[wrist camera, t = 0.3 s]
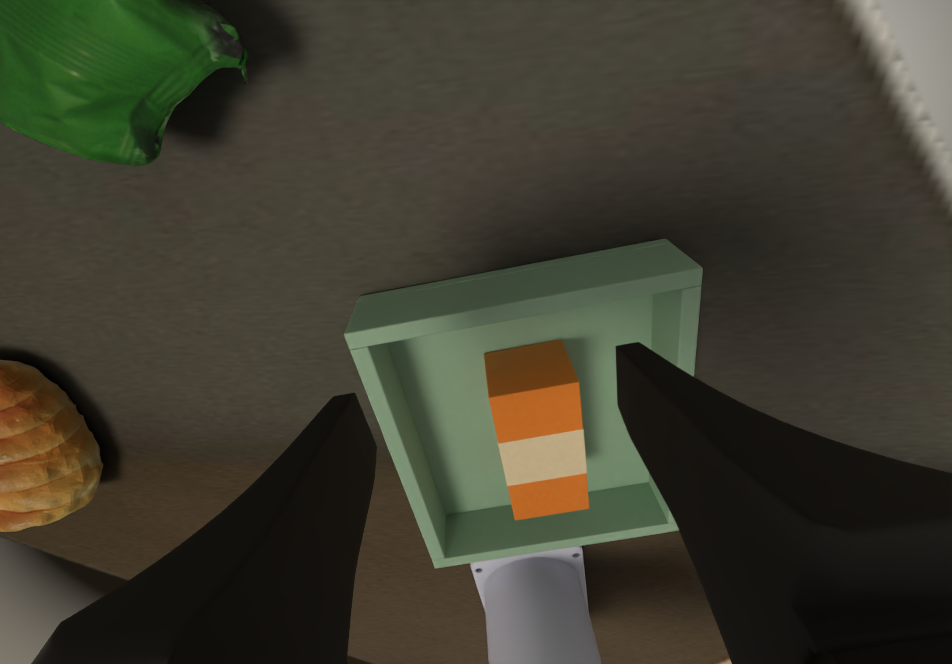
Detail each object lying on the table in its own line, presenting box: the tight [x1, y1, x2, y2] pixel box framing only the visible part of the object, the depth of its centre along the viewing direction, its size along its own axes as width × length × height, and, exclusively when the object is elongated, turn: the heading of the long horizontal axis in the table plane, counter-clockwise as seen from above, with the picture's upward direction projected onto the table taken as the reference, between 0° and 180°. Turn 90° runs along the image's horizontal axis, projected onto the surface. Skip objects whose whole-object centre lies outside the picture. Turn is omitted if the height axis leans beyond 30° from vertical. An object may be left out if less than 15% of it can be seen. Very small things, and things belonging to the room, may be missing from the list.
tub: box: [344, 239, 703, 568], centre depth 24 cm, size 17×15×4 cm
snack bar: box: [484, 340, 589, 520], centre depth 23 cm, size 8×4×4 cm, turn 10°
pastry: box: [0, 360, 103, 532], centre depth 22 cm, size 9×7×4 cm
